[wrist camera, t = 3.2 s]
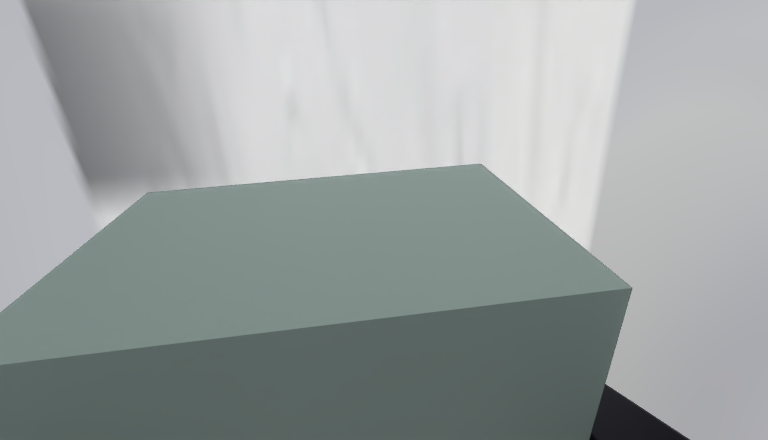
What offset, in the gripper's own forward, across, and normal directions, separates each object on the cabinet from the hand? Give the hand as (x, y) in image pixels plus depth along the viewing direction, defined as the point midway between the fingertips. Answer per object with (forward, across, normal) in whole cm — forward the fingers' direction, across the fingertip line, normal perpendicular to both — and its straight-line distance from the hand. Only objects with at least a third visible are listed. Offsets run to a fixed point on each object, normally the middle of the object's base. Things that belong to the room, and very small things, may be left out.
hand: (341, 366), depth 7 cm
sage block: (+1, 0, 0) cm, 1 cm away
